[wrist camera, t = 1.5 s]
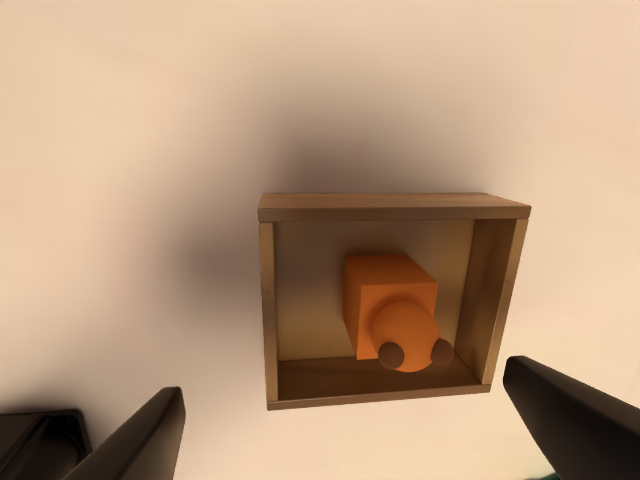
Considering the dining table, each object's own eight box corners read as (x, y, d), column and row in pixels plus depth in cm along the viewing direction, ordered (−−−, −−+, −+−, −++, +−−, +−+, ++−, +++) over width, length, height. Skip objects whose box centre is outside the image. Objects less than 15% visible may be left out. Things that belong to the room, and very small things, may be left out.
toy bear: (400, 315, 22) (458, 399, 15) (342, 317, 22) (372, 406, 15) (407, 253, 21) (473, 314, 14) (344, 255, 20) (379, 319, 13)
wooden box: (456, 351, 25) (490, 392, 21) (269, 364, 23) (266, 411, 19) (484, 192, 21) (532, 206, 17) (262, 193, 19) (257, 208, 15)
